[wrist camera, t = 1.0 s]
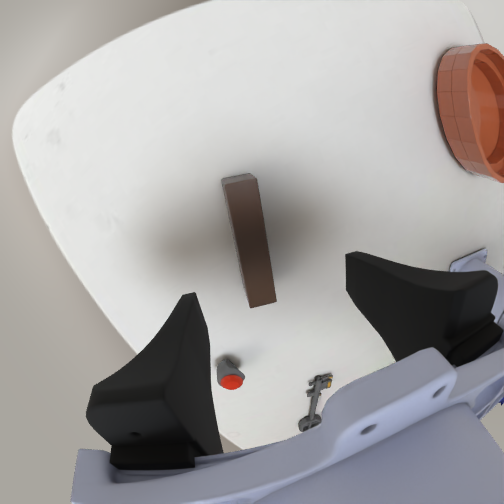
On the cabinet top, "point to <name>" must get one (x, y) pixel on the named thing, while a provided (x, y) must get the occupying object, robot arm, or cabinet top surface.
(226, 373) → the ring
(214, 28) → the cabinet top surface
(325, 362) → the cabinet top surface
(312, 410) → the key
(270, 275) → the stick
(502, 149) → the bowl
